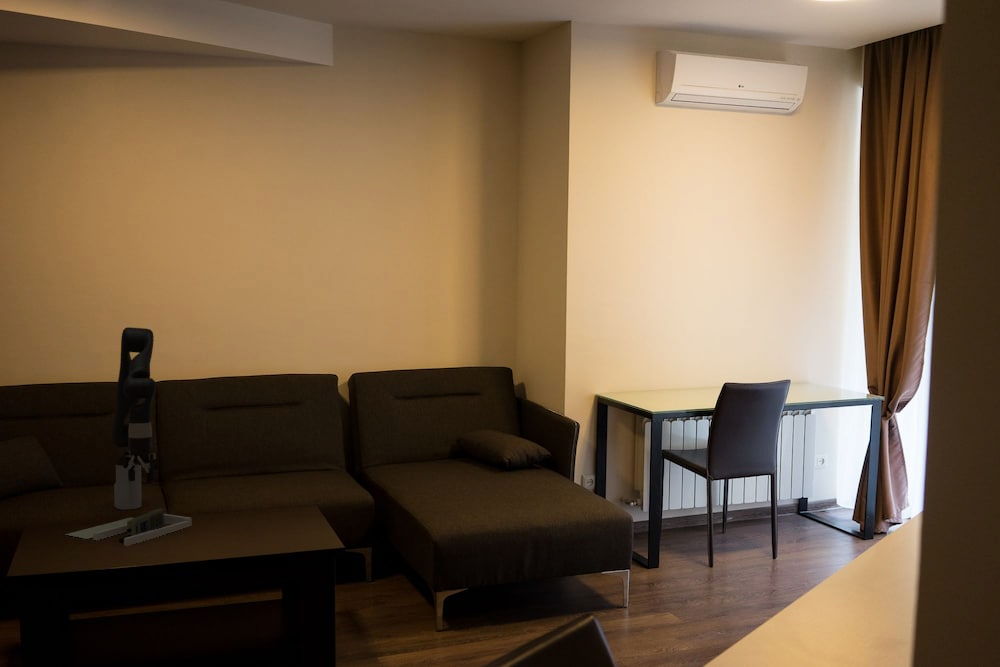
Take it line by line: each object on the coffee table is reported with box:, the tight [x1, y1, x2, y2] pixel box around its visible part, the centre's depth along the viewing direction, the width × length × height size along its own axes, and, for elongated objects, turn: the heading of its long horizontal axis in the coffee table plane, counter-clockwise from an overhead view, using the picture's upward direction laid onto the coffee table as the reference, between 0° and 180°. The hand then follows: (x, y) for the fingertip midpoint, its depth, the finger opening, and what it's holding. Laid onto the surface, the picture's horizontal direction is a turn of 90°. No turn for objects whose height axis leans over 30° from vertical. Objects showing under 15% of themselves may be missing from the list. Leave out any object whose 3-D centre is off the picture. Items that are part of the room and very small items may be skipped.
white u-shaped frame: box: [92, 513, 193, 547], centre depth 318 cm, size 16×28×4 cm, turn 154°
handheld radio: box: [118, 508, 165, 543], centre depth 317 cm, size 7×3×25 cm
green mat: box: [64, 517, 135, 540], centre depth 324 cm, size 11×28×1 cm, turn 154°
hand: (140, 482), depth 316 cm, fingers open, 8 cm apart
